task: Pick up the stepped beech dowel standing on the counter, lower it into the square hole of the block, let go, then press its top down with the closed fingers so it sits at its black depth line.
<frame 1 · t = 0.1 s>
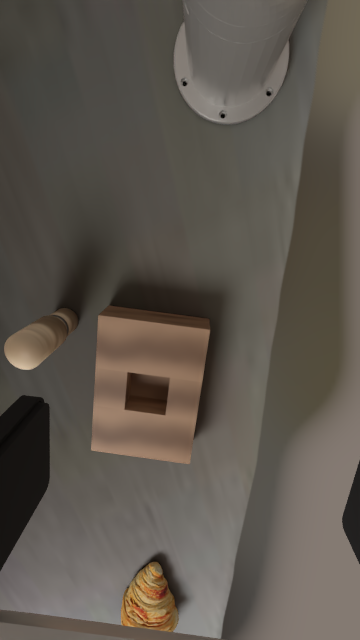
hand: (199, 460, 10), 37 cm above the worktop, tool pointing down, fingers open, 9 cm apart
peg: (65, 320, 48), on the worktop
board: (151, 377, 50), on the worktop
croissant: (152, 596, 63), on the worktop
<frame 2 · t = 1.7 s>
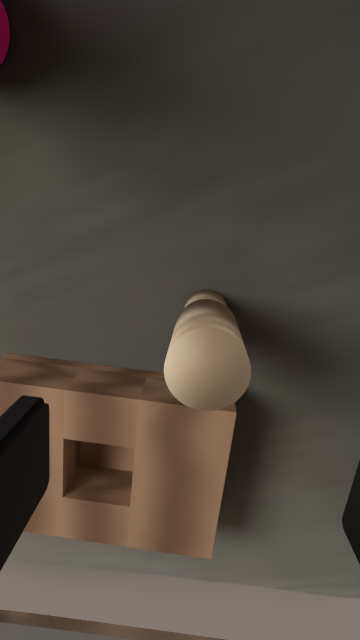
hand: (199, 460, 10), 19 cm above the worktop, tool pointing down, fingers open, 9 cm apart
peg: (205, 311, 28), on the worktop
board: (113, 435, 32), on the worktop
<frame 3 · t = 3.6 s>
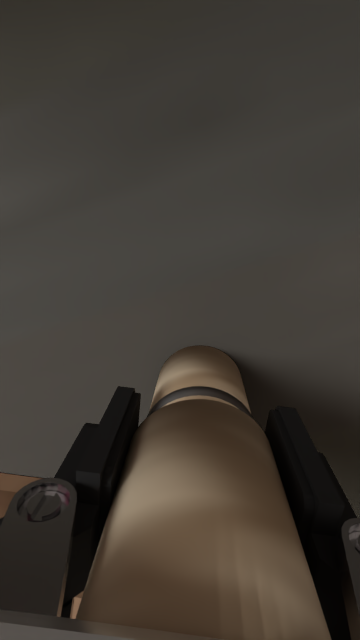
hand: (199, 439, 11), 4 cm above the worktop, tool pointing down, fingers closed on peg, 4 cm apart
peg: (199, 384, 15), on the worktop, touching gripper
board: (42, 584, 19), on the worktop
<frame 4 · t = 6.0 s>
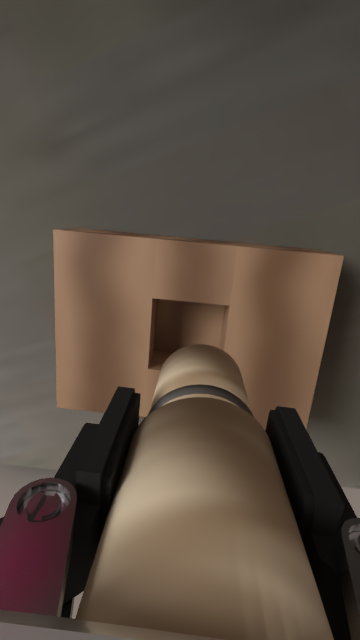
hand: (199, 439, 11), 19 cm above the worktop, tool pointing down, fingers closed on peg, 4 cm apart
peg: (200, 383, 15), point 16 cm above the worktop, touching gripper
board: (189, 319, 30), on the worktop
when the fingers open (6 cm above the worktop, at t = 8.6 s): peg stays where it is, resting on board.
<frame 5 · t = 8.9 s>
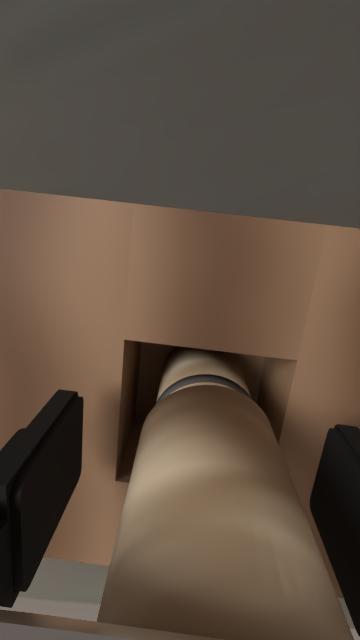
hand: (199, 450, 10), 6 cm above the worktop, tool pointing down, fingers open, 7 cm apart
peg: (201, 375, 16), point 1 cm above the worktop, touching board
board: (199, 366, 17), on the worktop
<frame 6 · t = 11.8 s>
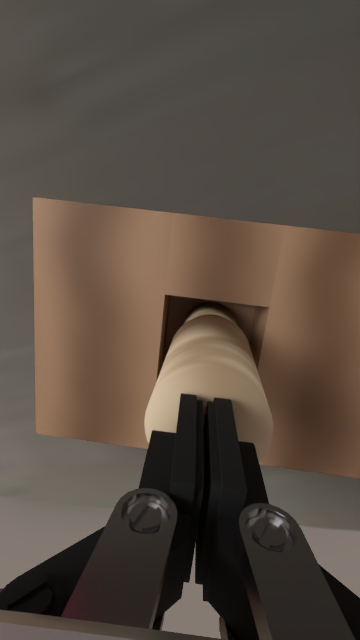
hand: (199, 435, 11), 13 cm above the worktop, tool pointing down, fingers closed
peg: (210, 328, 23), point 1 cm above the worktop, touching board, gripper
board: (208, 323, 24), on the worktop
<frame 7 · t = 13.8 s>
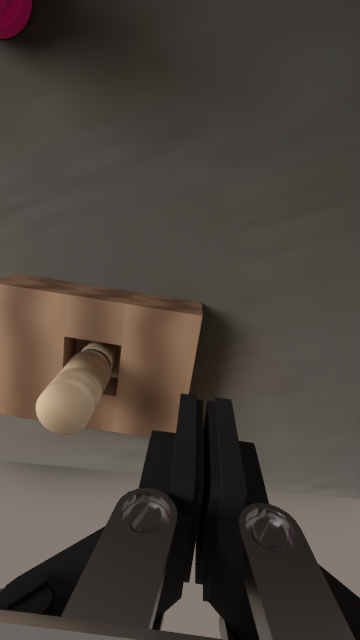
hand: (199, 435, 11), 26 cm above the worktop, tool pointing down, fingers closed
peg: (102, 351, 37), point 1 cm above the worktop, touching board
board: (103, 348, 38), on the worktop
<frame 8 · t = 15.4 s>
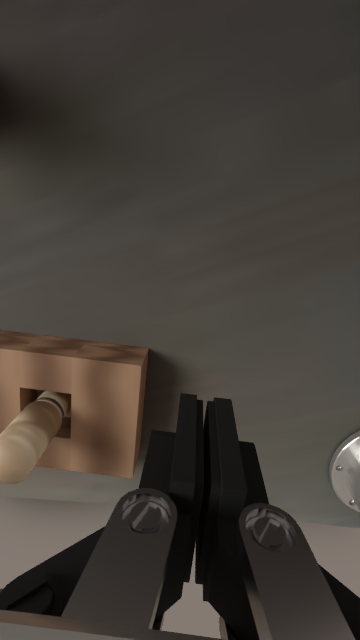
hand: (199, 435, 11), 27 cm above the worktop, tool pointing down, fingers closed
peg: (60, 395, 41), point 1 cm above the worktop, touching board
board: (63, 391, 42), on the worktop
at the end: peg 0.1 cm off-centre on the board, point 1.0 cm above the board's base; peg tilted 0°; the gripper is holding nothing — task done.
